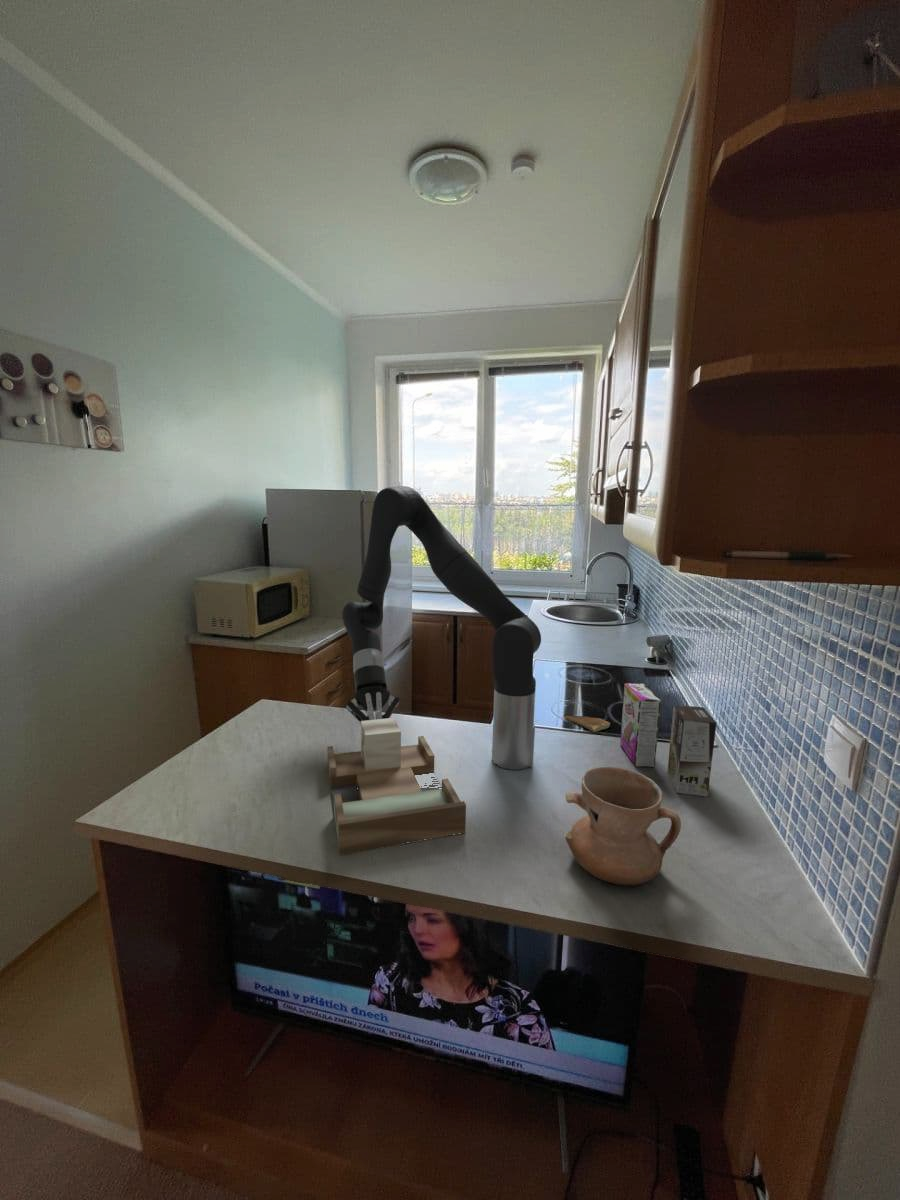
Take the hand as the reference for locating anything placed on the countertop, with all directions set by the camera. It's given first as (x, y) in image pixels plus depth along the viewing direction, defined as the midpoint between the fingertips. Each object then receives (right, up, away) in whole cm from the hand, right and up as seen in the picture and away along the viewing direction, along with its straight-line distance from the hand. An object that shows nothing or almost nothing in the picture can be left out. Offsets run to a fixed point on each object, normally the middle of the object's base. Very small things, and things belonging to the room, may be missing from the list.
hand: (377, 739), depth 114 cm
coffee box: (+67, -8, -6) cm, 68 cm away
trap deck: (+4, -8, -13) cm, 15 cm away
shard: (+54, -3, +23) cm, 59 cm away
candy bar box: (+61, -6, +6) cm, 62 cm away
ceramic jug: (+44, -12, -32) cm, 56 cm away
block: (+1, -4, -4) cm, 5 cm away
